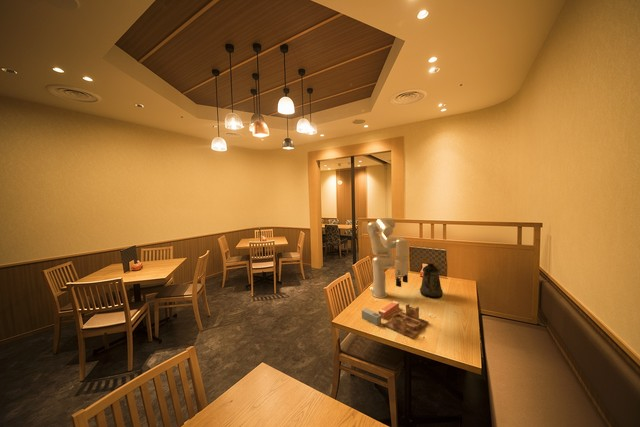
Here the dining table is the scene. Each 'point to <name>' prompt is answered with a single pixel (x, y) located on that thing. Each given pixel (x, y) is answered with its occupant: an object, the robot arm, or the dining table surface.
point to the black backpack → (431, 282)
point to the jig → (407, 322)
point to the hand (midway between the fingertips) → (402, 284)
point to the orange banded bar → (389, 309)
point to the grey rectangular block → (371, 316)
